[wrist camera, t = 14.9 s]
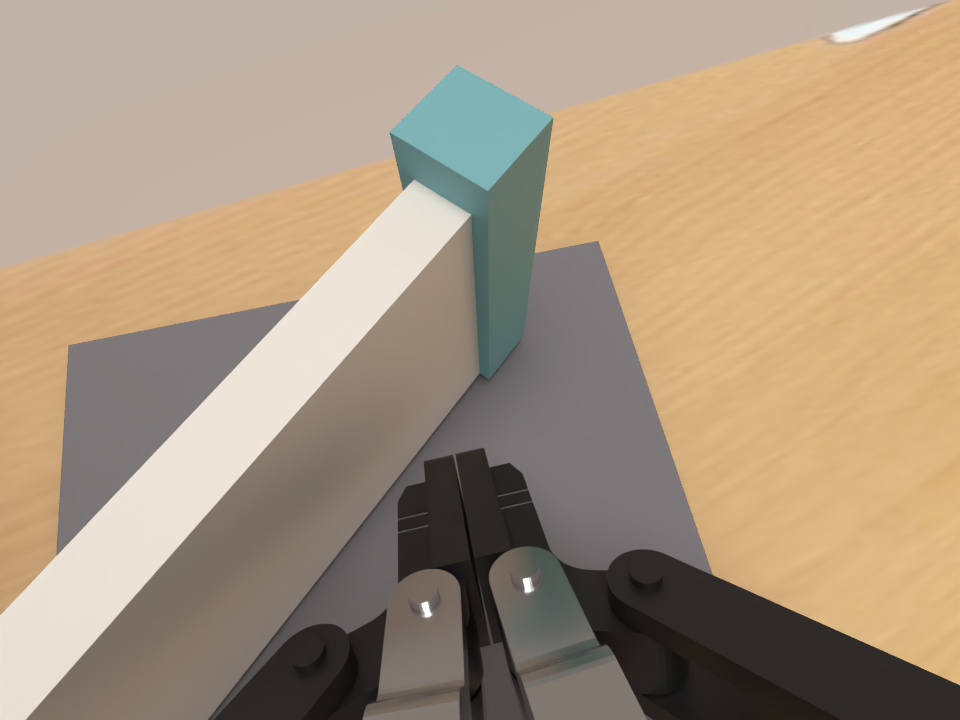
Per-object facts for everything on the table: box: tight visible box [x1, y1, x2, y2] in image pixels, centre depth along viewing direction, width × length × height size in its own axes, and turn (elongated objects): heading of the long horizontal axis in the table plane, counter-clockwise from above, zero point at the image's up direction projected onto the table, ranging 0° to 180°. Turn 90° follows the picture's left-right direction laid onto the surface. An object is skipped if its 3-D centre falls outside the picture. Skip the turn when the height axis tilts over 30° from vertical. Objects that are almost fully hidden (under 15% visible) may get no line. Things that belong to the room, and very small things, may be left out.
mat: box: [56, 241, 712, 720], centre depth 17 cm, size 20×25×1 cm
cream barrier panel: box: [0, 65, 553, 720], centre depth 12 cm, size 18×2×10 cm, turn 143°
